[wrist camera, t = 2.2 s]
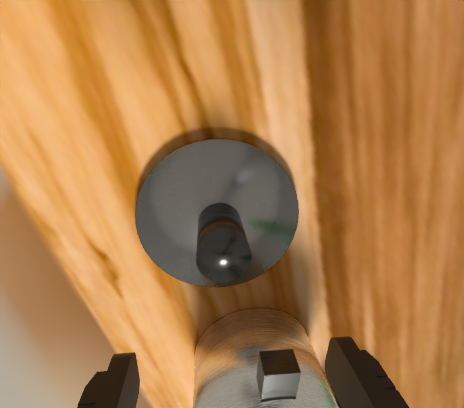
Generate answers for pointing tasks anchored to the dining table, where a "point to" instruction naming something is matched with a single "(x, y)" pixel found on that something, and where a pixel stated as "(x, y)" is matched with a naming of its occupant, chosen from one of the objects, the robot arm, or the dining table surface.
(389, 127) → the dining table surface
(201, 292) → the dining table surface
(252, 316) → the cooker pot
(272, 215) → the lid
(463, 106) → the dining table surface
